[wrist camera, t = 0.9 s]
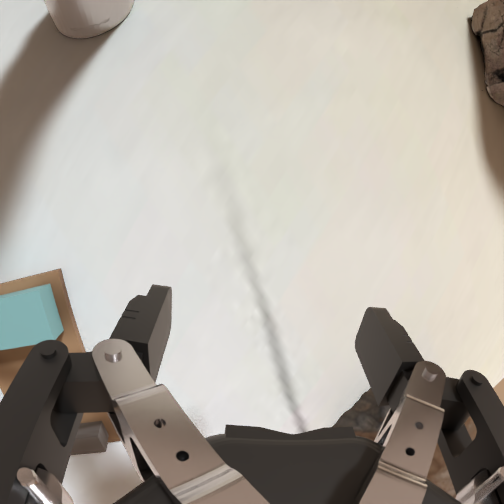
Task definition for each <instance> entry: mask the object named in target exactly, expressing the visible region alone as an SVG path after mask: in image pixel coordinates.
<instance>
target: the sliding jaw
mask: <svg viewBox="0 0 504 504" xmlns="http://www.w3.org/2000/svg"><path fill="white" fill-rule="evenodd" d="M63 331H64V329H63V326H62V322H61V319H60V316H59V313H58V309H57V306H56V303H55V299H54V296H53V292H52V288H51V284H46V285H42V286H37V287H33V288H29V289H25V290H21V291H17V292H12V293H8V294H4V295H0V350H6V349H12V348H18V347H24V346H30V345H35V344H38V343H40V342H42V341H45V340H56V339H57V338H58V336H59V335H60V334H61V333H62V332H63Z"/></svg>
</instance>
